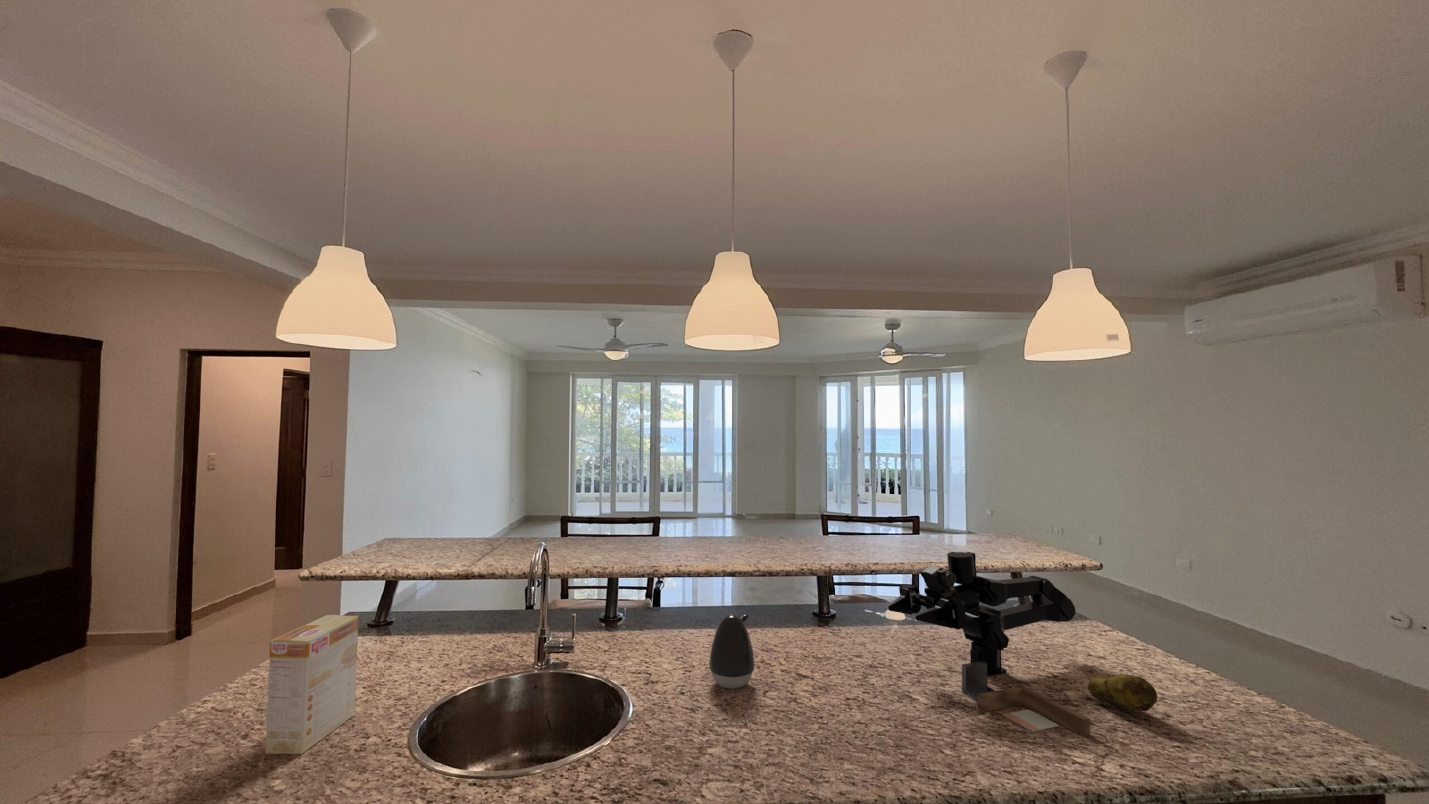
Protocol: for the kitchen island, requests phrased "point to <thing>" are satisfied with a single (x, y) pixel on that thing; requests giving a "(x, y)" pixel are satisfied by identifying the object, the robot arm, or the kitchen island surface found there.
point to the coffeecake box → (311, 683)
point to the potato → (1124, 692)
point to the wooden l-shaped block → (1034, 707)
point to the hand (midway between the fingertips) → (902, 612)
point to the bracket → (975, 679)
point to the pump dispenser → (732, 653)
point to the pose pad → (1030, 720)
